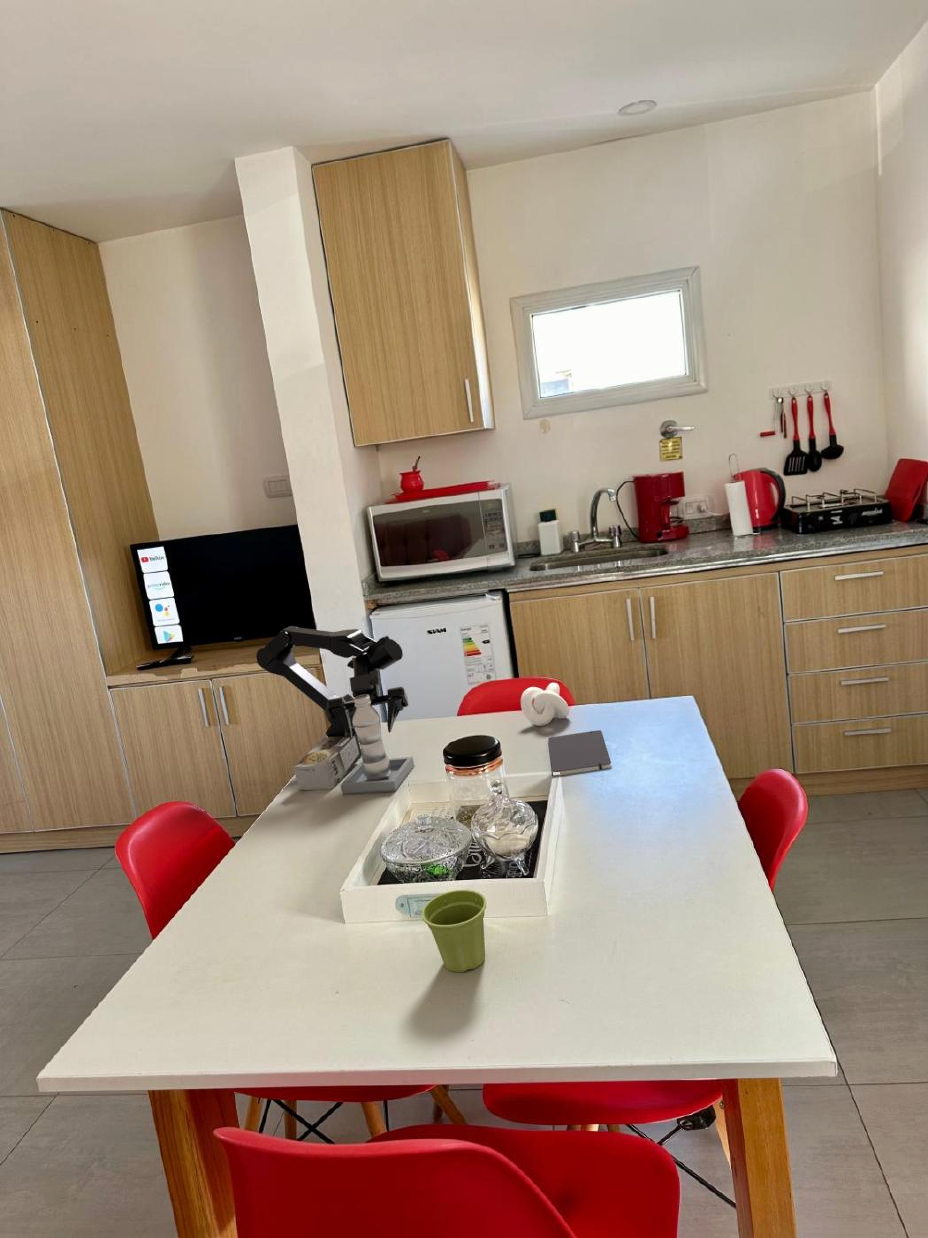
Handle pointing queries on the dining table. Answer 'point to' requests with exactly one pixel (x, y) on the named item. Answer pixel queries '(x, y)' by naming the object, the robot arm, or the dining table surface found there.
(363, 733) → the plastic bottle
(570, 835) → the dining table surface
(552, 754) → the notebook
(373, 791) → the grey square tray
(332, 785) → the coffee box
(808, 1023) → the dining table surface
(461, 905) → the plant pot
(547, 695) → the white knot sculpture
